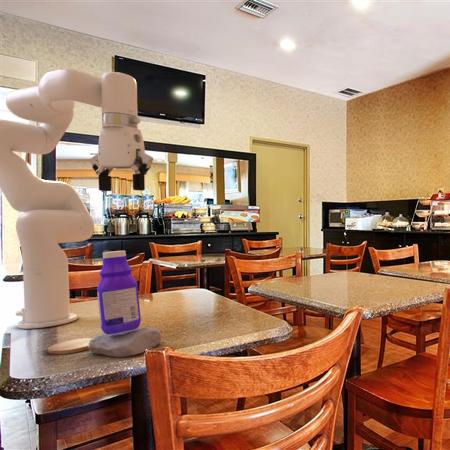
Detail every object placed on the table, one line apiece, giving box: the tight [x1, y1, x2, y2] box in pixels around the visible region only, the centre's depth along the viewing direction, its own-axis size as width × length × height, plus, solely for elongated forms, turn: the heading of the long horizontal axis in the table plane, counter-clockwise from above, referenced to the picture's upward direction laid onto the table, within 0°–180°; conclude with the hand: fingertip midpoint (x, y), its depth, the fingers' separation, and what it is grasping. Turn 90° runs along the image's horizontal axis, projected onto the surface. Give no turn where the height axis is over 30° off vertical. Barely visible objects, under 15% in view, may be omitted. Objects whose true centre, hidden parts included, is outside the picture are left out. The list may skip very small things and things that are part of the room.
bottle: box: [96, 250, 142, 334], centre depth 88 cm, size 7×6×17 cm
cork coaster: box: [47, 337, 94, 355], centre depth 91 cm, size 9×9×1 cm
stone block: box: [87, 326, 162, 358], centre depth 89 cm, size 12×5×10 cm
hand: (122, 190), depth 105 cm, fingers open, 9 cm apart
